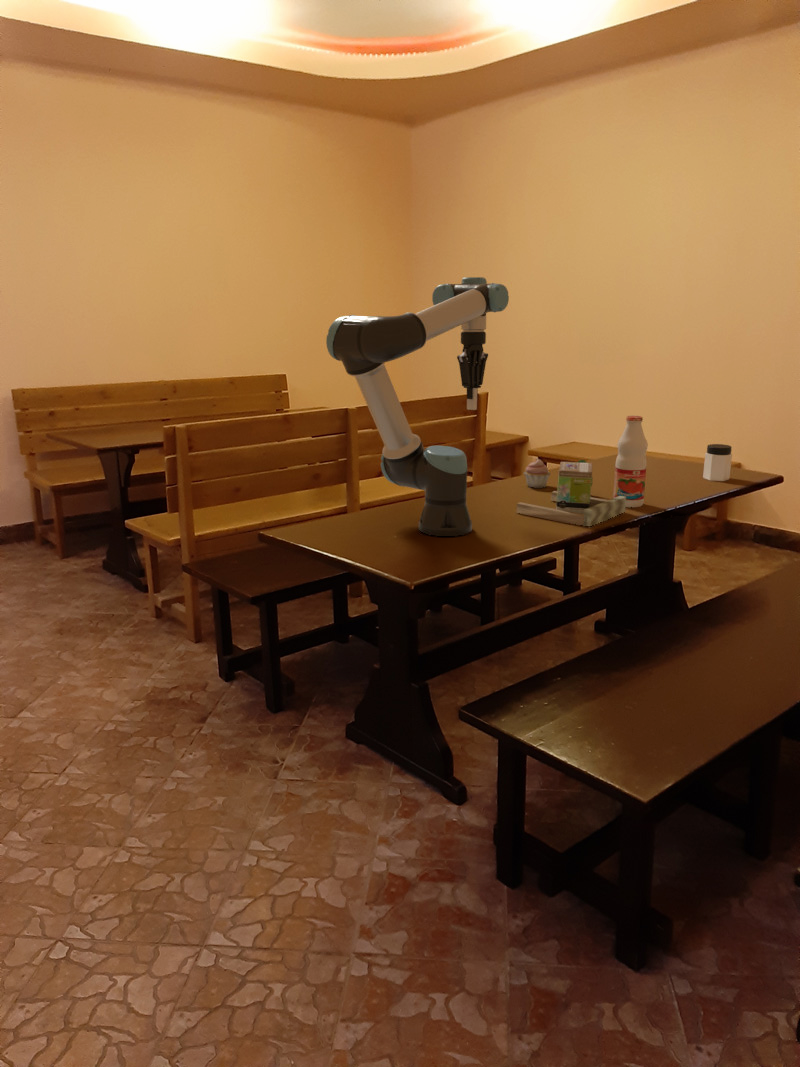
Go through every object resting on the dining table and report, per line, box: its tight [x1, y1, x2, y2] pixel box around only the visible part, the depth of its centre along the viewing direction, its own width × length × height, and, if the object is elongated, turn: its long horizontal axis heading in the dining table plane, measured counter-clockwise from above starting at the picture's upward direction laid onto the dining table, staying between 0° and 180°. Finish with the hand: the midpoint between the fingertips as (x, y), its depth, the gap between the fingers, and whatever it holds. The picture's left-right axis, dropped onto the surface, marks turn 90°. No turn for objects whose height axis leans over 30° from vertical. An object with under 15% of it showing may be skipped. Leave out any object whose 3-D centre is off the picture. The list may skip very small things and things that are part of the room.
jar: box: [702, 443, 733, 482], centre depth 298 cm, size 9×8×12 cm
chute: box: [516, 490, 627, 527], centre depth 254 cm, size 22×25×5 cm
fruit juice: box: [612, 415, 648, 508], centre depth 261 cm, size 9×9×28 cm
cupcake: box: [523, 457, 551, 489], centre depth 288 cm, size 9×9×10 cm
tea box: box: [555, 461, 593, 514], centre depth 253 cm, size 15×10×15 cm, turn 167°
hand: (471, 409), depth 257 cm, fingers closed
